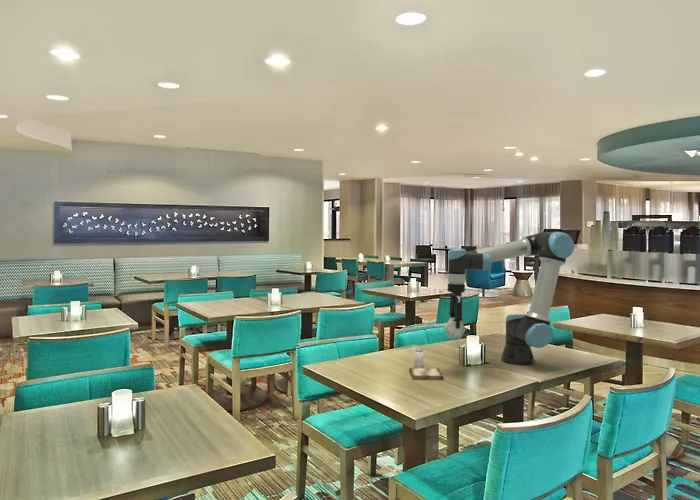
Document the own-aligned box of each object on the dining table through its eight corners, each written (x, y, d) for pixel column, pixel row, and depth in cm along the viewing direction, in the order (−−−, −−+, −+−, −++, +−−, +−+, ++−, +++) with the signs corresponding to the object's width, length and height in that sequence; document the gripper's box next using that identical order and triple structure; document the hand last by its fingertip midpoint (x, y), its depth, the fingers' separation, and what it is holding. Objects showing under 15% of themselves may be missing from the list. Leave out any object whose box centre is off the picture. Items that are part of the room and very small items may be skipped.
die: (468, 336, 228) (458, 318, 232) (469, 331, 220) (457, 311, 225) (452, 345, 228) (441, 326, 232) (451, 339, 220) (440, 320, 225)
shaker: (422, 365, 239) (422, 348, 238) (423, 367, 235) (424, 350, 234) (414, 365, 239) (414, 348, 238) (415, 367, 235) (415, 350, 234)
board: (438, 371, 228) (438, 367, 228) (443, 379, 215) (443, 376, 215) (409, 371, 228) (409, 367, 228) (413, 379, 215) (413, 375, 215)
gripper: (443, 280, 236) (442, 328, 237) (452, 285, 215) (451, 338, 216) (459, 281, 236) (458, 329, 237) (470, 285, 215) (468, 338, 216)
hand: (455, 333), depth 226 cm, fingers closed on die, 8 cm apart
